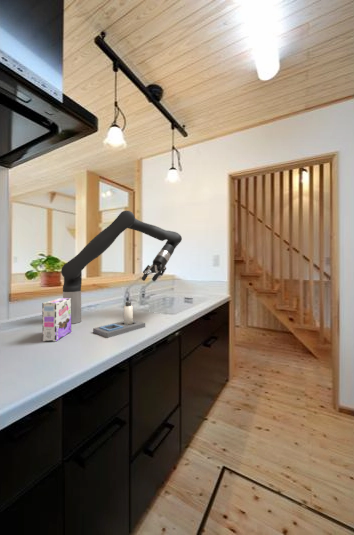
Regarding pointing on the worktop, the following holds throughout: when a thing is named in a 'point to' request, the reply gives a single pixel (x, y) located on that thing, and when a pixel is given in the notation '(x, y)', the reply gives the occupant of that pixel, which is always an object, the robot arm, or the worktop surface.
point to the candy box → (56, 319)
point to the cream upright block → (128, 313)
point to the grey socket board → (117, 328)
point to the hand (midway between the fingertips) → (147, 280)
